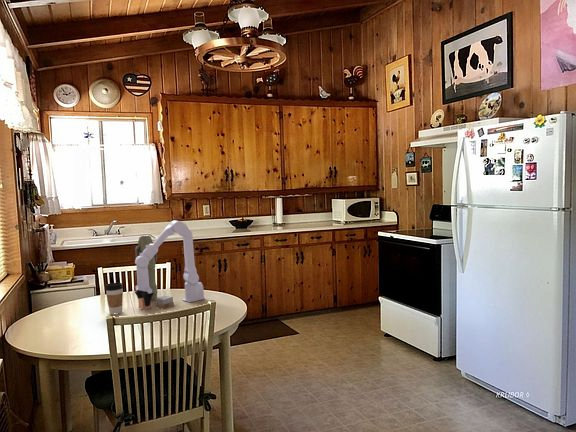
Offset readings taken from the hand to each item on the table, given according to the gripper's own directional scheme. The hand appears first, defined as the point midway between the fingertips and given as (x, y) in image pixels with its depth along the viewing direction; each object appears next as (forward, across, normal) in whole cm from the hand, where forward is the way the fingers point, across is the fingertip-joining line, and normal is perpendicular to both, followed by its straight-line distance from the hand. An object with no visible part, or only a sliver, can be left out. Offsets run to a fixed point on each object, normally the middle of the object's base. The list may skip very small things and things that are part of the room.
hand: (144, 305), depth 237 cm
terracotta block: (+2, 0, 0) cm, 2 cm away
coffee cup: (+2, -3, -14) cm, 14 cm away
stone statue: (+2, -15, +10) cm, 18 cm away
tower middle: (-1, +6, +8) cm, 10 cm away
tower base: (+2, +6, +8) cm, 10 cm away
